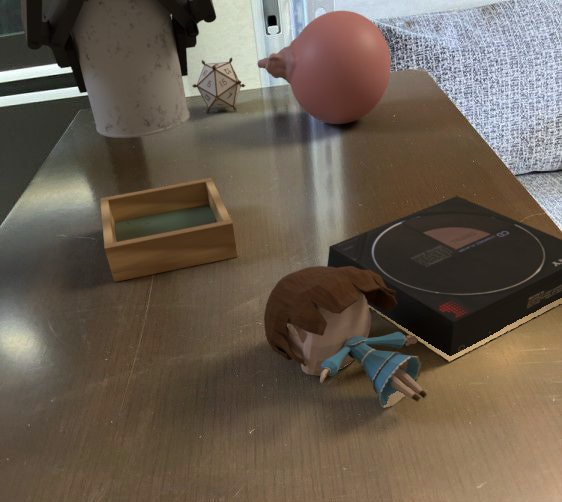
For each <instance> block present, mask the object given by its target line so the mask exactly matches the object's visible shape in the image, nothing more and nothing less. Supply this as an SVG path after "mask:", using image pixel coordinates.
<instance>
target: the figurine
mask: <svg viewBox="0 0 562 502" xmlns="http://www.w3.org/2000/svg"><path fill="white" fill-rule="evenodd" d="M385 290H386V291H387V292H386V291H385ZM395 292H396V291H395V290H391V289H388V288H387V287H386V285H385V283H384V281H383V279H382V278H381V276H380V275H378V274H376V273H374V272H373V271H371V270H360V269H358V268H356V267H353V266H347V267H339V268H335V267H327V265H318V266H317V265H316V266H308V267H305V268H302V269H298V270H296V271H293V272H290V273H288V274H286V275H285V276H283V277H282V278H280V280H279V281H277V283H276V284H275V286H274V287H273V288H272V290H271V292H270V293H269V296H268V299H267V301H266V304H265V309H264V316H263V321H264V324H263V325H264V332H265V337H266V341H267V343H268V345H269V347H270V348H271V350H272V352H274V353H276V354H277V355H279V356H280V357H282V358H283V359H285V360H287V361H292V360H293V361H295V362H296V363H298V364H300V366H301V370H302V372H304V373H305V374H306V375H310V376H320V377H319V382H320V383H321V384H323V383H324V381H325V379H326V377H334V376H336V375H337V374H338V372H339V371H340V370H339V369H340V368H342V367H344V366H345V365H347V364H349V363H350V362H352V361H353V360H354V359H355V360H354V361H357V362H358V364H360V365H361V366H362V368H363V370H364V371H365V373H366V375H367V378H368V380H369V382H370V385H371V387H372V389H373V390H374V392H375V393H376V395H377V398H378V400H379V404H380V406H381V408H382V409H383V406H384V405H386V404H387V401H388V399H389V397H388V396H390V395H391V394H393V393H395V392H396V391H399V392H401V393H403V394H404V395H405V397H408V398H410V399H412V400H413V401H414V402H418V403H419V402H420V401H421V398H423V399H426V398H427V396H428V394H427V392H426V391H425V390H424V389H423V388H422V387H421V386H420V384H418V382H417V380H418V378H419V377H420V374H421V371H422V366H423V363H422V361H421V358H420V357H419V356H418V355H417V356H416V355H407V354H405V353H404V352H401V351H389V350H380V349H379V350H377V349H375V348H372V347H371V346H386V347H390V348H396V349H401V348H402V347H403V346H404V345H405V346H407V347H408V346H410V345H415V344H417V342H418V341H417V340H418V339H417V338H416V337H415V336H412V335H408V334H407V335H405V334H403V332H400V331H395V332H393V333H388V334H385V335H382V336H373V337H369V334H370V331H371V325H372V319H373V317H372V314H371V311H370V308H368V304H367V302H370V303H372V304H374V305H376V306H377V307H379V308H381V309H383V310H386V311H392V310H393V309H394V308H395V306H396V305H397V301H396V299H395V297H394V295H395ZM354 361H353V362H354ZM353 362H352V363H353ZM344 368H345V367H344ZM342 369H343V368H342ZM338 370H339V371H338ZM408 387H409V388H411V389H409V388H408Z"/></svg>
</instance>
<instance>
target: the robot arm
mask: <svg viewBox="0 0 562 502" xmlns="http://www.w3.org/2000/svg"><path fill="white" fill-rule="evenodd" d="M84 1H89V0H51V3H50V5H49V7H48V11H47V13H46V14H45V13H44V12H43V0H20V8H21V10H20V11H21V13H20V14H21V24H22V28H23V32H24V36H25V37H24V38H25V42H26V45H27V48H28V49H30V50H34V51H36V50H40V49H41V48H42V46H46V47H49V48H50V49H51V52H52V54H53V56H54V59H55V62H56V64H57V66H58V68H59V69H67V68H70V69H71V72H72V75H73V78H74V80H75V83H76V86H77V88H78V91H79V92H78V93H79V94H84V93H87V89H86V86H85V82H84V78H83V75H82V71H81V67H80V64H79V60H78V56H77V53H76V49H75V45H74V42H73V38H72V34H71V30H72V28H73V26H74V24H75V21H76V19H77V17H78V15H79V12H80V10H81V8H82V6H83V3H84ZM158 1H159V2H160V3H161V5H162V6H163V7H164V8H165V9H166V10H167V11H168V12H169V13H170V14H171V18H172V24H173V29H174V35H175V41H176V46H177V52H178V57H179V63H180V69H181V74H182V77H187V76H189V74H188V73H189V72H188V71H189V70H188V53H187V49H190V48H195V47H196V46H197V37H198V36H199V34H200V31H199V26H198V24H199V23H200V22H205V23H208V24H210V23H213V22H215V21H216V19H217V14H216V10H215V6H214V2H213V0H158Z"/></svg>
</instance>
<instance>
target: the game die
mask: <svg viewBox="0 0 562 502" xmlns="http://www.w3.org/2000/svg"><path fill="white" fill-rule="evenodd" d="M232 62H233V57H230V58H229V59H228V61H224V62H212V63H206V61H205V60H204V59H201V64H202V65H203V67H202V70H201V73H200V74H199V77H198V80H197V83H194V84H193V85H191V87H193V88H197V90H198V92H199V94H200V96H201V97H202V99H203V102H204V104H205V106H206V107H207V108H206V114H208V113H210V110H216V109H225V108H226V109H227V108H229V109H230V108H232V110H233V111H235V112H237V107H236V106H235V105H236V103H237V99H238V96H239V94H240V91H241V88H245V87H246V84H244V83H242V80H240V79H239V78H238V75H237V73H236V71H235V69H234V67H233V65H232Z"/></svg>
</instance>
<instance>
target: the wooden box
mask: <svg viewBox="0 0 562 502" xmlns="http://www.w3.org/2000/svg"><path fill="white" fill-rule="evenodd" d="M99 201H100V209H101V210H100V211H101V212H100V213H101V223H102V224H101V225H102V232H103V246H104V251H105V255H106V259H107V261H108V262H107V263H108V264H109V265H108V266H109V269H110V273H111V275H112V278H113V282H114V283H117V282H122V281H128V280H131V279H137V278H142V277H147V276H151V275H156V274H161V273H165V272H170V271H171V272H172V271H176V270H180V269H185V268H189V267H194V266H199V265H204V264H209V263H213V262H218V261H219V262H220V261H224V260H229V259H233V258H238V257H239V255H238V248H237V242H236V236H235V228H234V222H233V219H232V218H231V217H230V214H229V213H228V210H227V208H226V206H225V204H224V202H223V200H222V197H221V195H220V193H219V191H218V189H217V186H216V184H215V183H214V181H213V178H212V177H208V178H207V177H206V178H202V179H198V180H192V181H188V182H182V183H181V182H180V183H176V184H175V183H174V184H171V185H166V186H165V185H164V186H160V187H155V188H154V187H153V188H149V189H144V190H138V191H132V192H128V193H123V194H122V193H121V194H117V195H111V196H106V197H101V198H100V199H99Z"/></svg>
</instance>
